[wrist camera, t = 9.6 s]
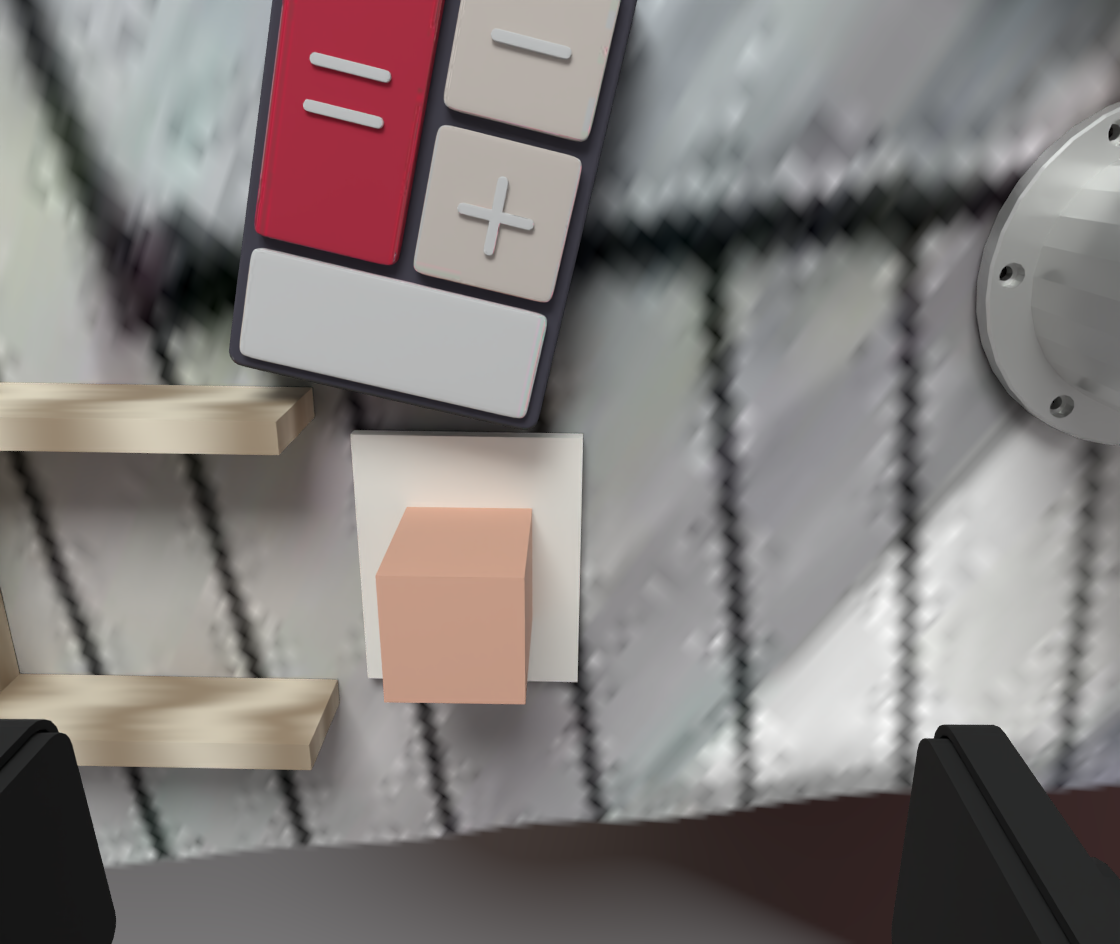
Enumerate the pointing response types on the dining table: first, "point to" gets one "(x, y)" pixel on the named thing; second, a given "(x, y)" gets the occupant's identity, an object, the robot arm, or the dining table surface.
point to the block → (457, 606)
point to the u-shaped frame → (159, 701)
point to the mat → (480, 482)
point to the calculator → (424, 195)
